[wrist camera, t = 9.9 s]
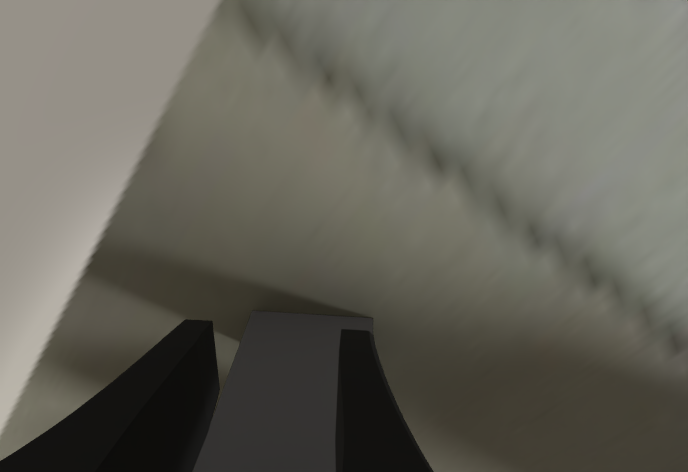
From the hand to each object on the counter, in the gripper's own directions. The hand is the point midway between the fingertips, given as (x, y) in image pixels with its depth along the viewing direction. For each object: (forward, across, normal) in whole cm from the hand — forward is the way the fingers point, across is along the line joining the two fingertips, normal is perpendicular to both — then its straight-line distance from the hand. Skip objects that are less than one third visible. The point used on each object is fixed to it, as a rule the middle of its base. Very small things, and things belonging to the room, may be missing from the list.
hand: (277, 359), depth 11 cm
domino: (+8, 0, +6) cm, 9 cm away
